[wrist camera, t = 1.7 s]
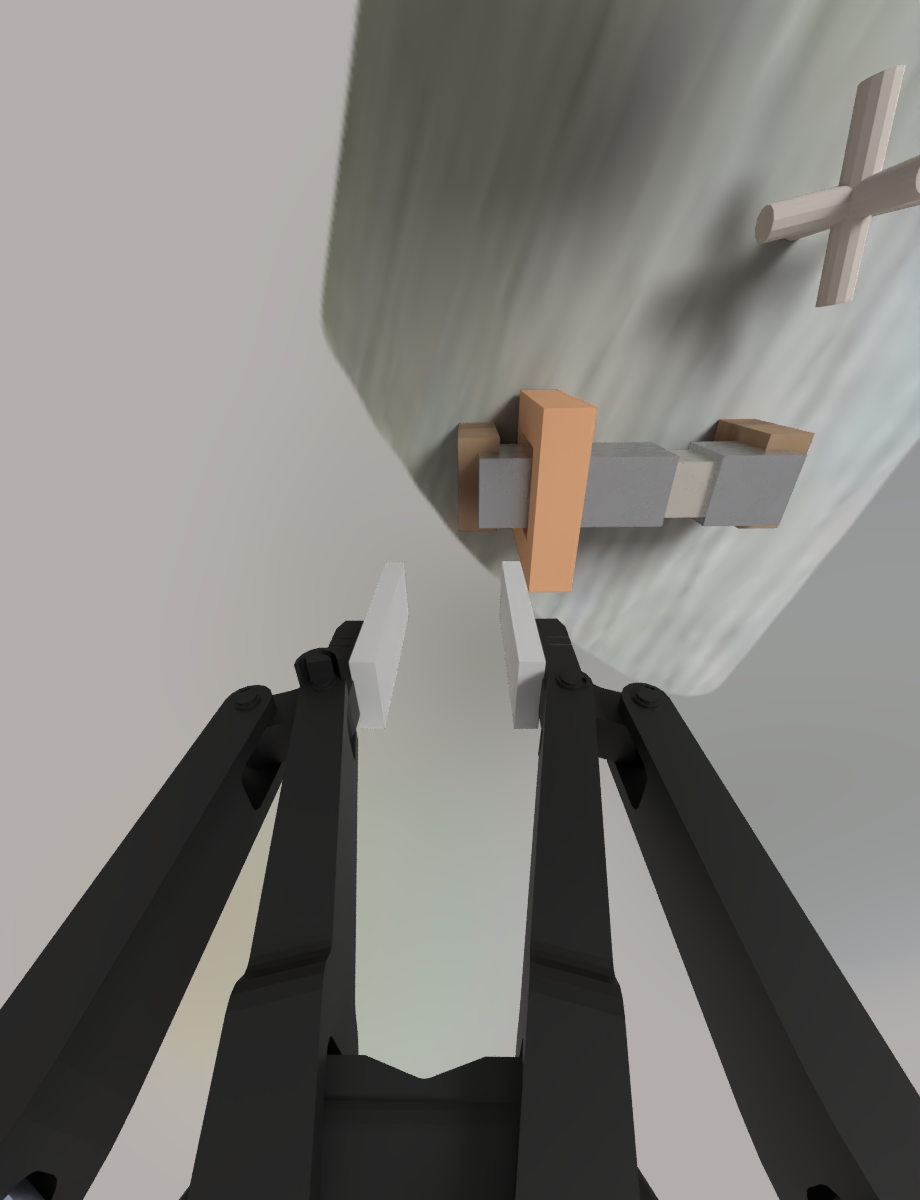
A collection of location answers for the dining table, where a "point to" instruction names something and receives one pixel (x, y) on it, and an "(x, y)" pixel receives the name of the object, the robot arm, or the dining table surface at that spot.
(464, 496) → the stand
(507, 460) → the grey long bar
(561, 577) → the peach rectangular loop
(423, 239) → the dining table surface
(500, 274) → the dining table surface
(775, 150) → the dining table surface
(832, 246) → the pipe connector
